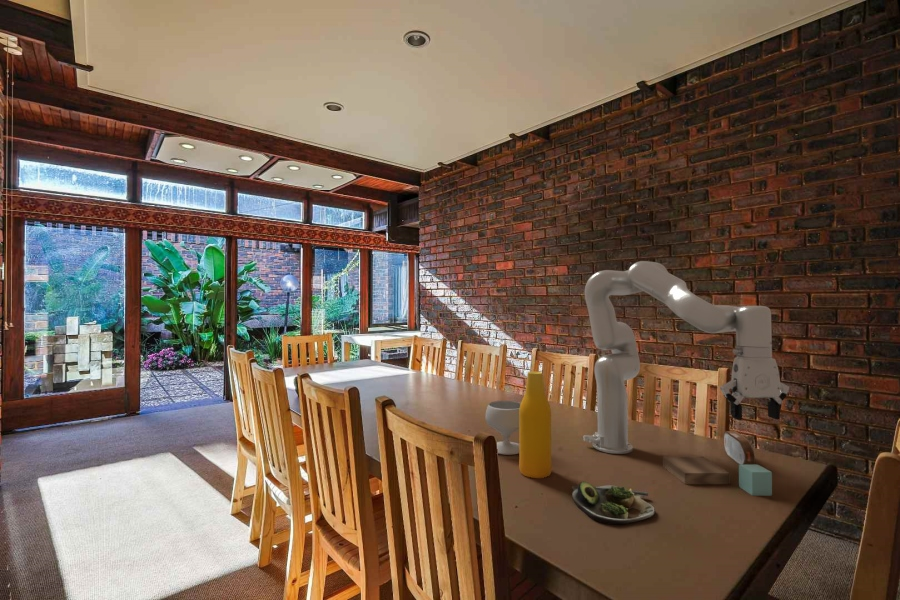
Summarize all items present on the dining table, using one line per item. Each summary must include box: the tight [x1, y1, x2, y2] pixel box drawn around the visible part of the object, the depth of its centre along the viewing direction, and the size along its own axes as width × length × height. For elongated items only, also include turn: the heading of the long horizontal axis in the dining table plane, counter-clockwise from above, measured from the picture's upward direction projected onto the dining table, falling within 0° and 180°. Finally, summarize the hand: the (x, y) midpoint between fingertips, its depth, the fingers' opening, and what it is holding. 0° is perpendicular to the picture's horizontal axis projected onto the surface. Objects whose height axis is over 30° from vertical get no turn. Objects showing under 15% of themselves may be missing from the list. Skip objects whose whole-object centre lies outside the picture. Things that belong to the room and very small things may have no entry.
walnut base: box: [662, 456, 731, 485], centre depth 120 cm, size 12×12×3 cm
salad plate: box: [570, 481, 656, 525], centre depth 102 cm, size 19×18×5 cm
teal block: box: [738, 464, 773, 497], centre depth 109 cm, size 5×5×6 cm
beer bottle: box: [518, 371, 552, 479], centre depth 122 cm, size 9×9×29 cm
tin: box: [722, 430, 756, 466], centre depth 129 cm, size 15×3×8 cm, turn 168°
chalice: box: [484, 400, 521, 456], centre depth 141 cm, size 14×14×15 cm
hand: (755, 418), depth 110 cm, fingers open, 9 cm apart
